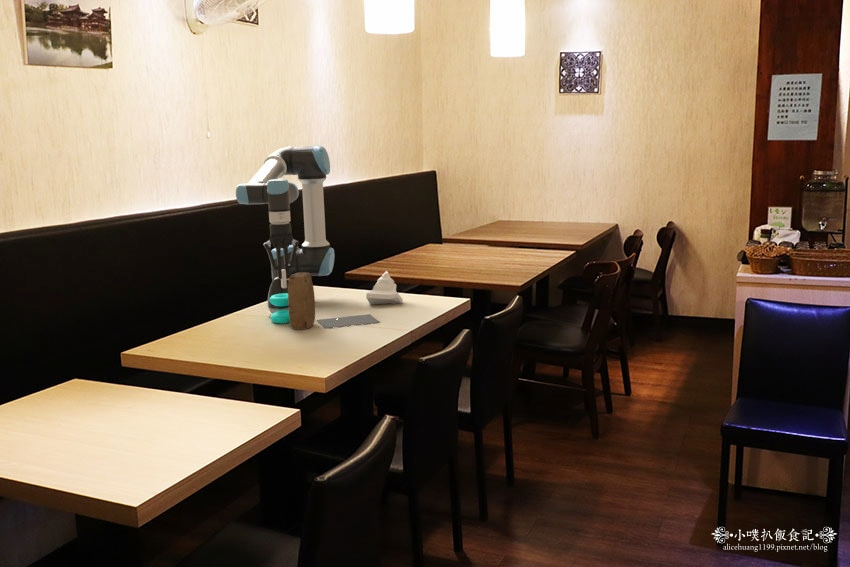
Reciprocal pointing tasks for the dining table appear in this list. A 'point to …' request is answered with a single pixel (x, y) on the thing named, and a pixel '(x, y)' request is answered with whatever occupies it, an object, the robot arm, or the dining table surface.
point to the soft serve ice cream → (384, 291)
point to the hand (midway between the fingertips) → (284, 287)
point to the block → (301, 301)
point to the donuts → (284, 314)
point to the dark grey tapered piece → (277, 289)
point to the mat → (348, 321)
